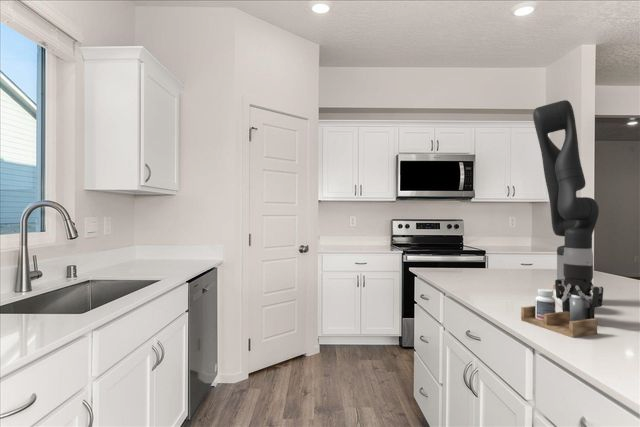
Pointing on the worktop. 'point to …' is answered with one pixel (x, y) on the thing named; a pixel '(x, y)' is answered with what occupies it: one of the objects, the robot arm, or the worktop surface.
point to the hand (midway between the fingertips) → (577, 316)
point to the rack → (560, 322)
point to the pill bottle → (544, 303)
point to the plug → (577, 308)
